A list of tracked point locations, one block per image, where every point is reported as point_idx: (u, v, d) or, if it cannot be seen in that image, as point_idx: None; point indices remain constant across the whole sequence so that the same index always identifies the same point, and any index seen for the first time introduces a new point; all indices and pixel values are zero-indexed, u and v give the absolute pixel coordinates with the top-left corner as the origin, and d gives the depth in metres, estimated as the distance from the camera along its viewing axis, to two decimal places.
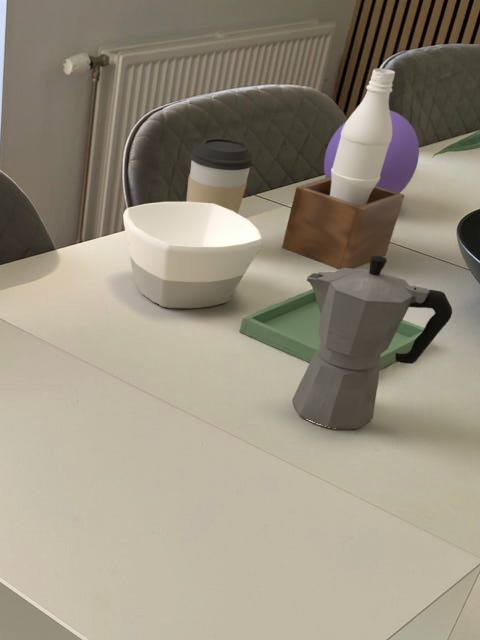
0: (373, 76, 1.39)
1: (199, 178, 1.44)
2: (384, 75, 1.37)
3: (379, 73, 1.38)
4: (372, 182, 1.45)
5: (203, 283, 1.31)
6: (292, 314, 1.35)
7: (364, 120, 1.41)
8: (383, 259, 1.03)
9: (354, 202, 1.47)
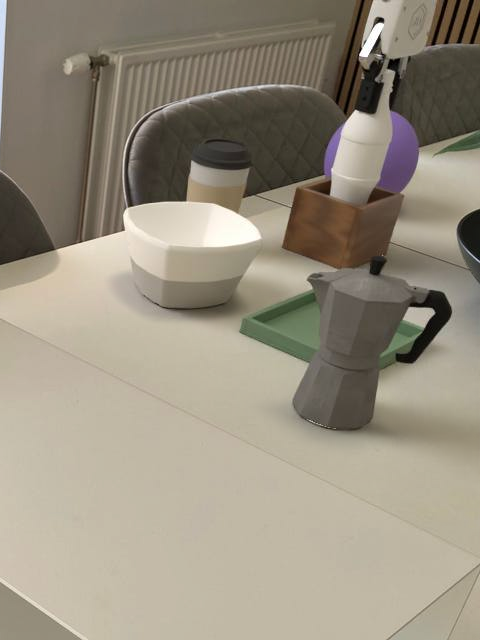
0: None
1: (199, 178, 1.44)
2: (384, 75, 1.37)
3: None
4: (372, 182, 1.45)
5: (203, 283, 1.31)
6: (292, 314, 1.35)
7: (364, 120, 1.41)
8: (383, 259, 1.03)
9: (354, 202, 1.47)
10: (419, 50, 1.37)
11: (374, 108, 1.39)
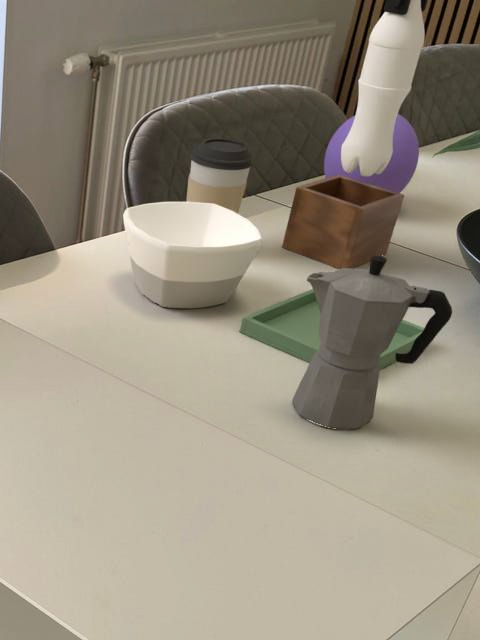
0: None
1: (199, 178, 1.44)
2: None
3: None
4: (403, 91, 1.36)
5: (203, 283, 1.31)
6: (292, 314, 1.35)
7: (394, 22, 1.31)
8: (383, 259, 1.03)
9: (383, 114, 1.38)
10: None
11: (405, 8, 1.30)
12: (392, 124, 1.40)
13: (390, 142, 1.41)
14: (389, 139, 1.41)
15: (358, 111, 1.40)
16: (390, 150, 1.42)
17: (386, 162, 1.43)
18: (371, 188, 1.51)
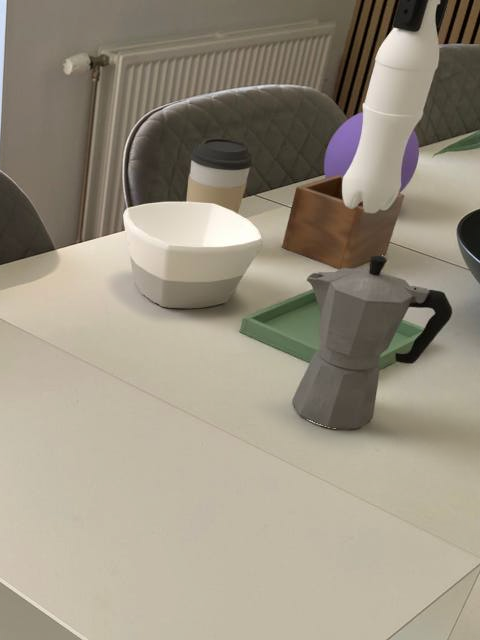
0: None
1: (199, 178, 1.44)
2: None
3: None
4: (413, 119, 1.19)
5: (203, 283, 1.31)
6: (292, 314, 1.35)
7: (405, 40, 1.14)
8: (383, 259, 1.03)
9: (391, 144, 1.21)
10: None
11: (418, 24, 1.12)
12: (401, 155, 1.23)
13: (398, 175, 1.24)
14: (397, 172, 1.24)
15: (362, 140, 1.22)
16: (398, 184, 1.25)
17: (393, 197, 1.25)
18: None
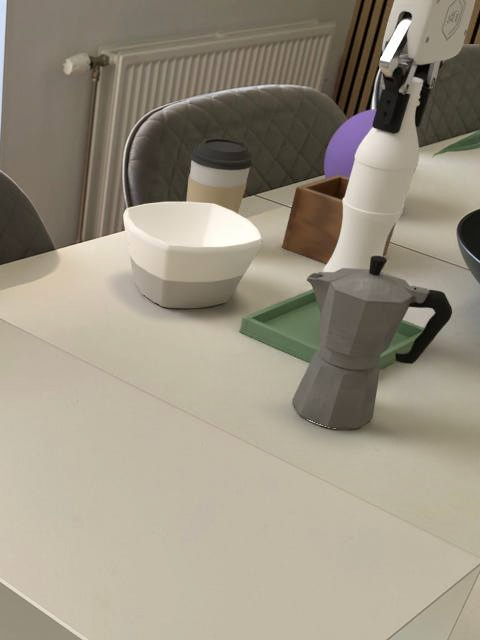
0: None
1: (199, 178, 1.44)
2: (410, 84, 1.09)
3: None
4: (394, 216, 1.17)
5: (203, 283, 1.31)
6: (292, 314, 1.35)
7: (384, 141, 1.13)
8: (383, 259, 1.03)
9: (371, 240, 1.19)
10: (454, 53, 1.09)
11: (397, 126, 1.11)
12: (381, 250, 1.21)
13: None
14: None
15: (342, 235, 1.21)
16: None
17: None
18: None
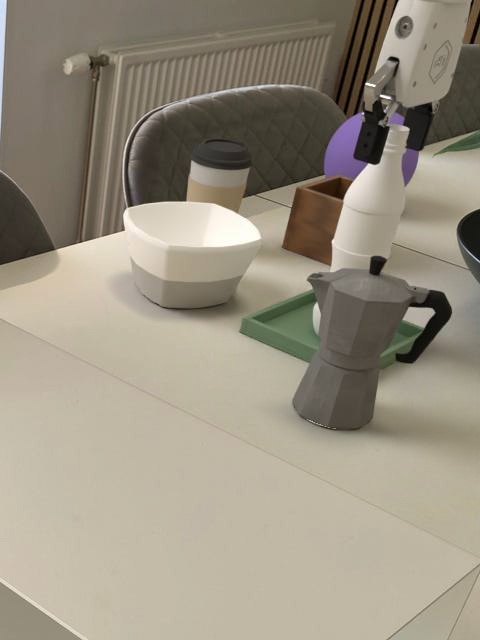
0: None
1: (199, 178, 1.44)
2: (396, 133, 1.13)
3: (390, 131, 1.13)
4: None
5: (203, 283, 1.31)
6: (292, 314, 1.35)
7: (372, 186, 1.16)
8: (383, 259, 1.03)
9: None
10: (442, 95, 1.11)
11: (378, 158, 1.12)
12: None
13: None
14: None
15: None
16: None
17: None
18: None
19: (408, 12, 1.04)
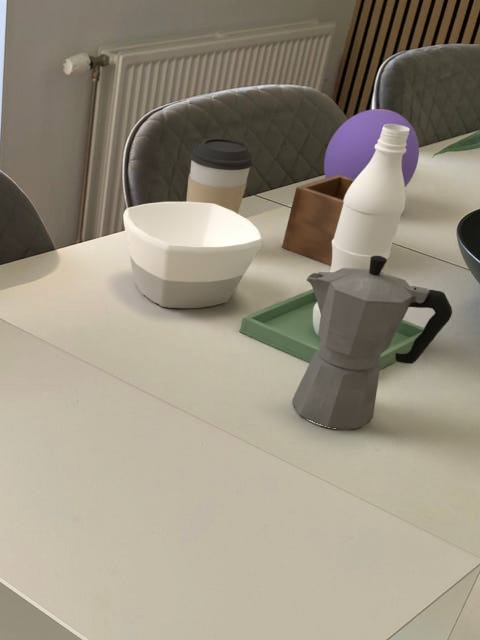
0: (383, 134, 1.14)
1: (199, 178, 1.44)
2: (396, 133, 1.13)
3: (390, 131, 1.13)
4: None
5: (203, 283, 1.31)
6: (292, 314, 1.35)
7: (372, 186, 1.16)
8: (383, 259, 1.03)
9: None
10: None
11: None
12: None
13: None
14: None
15: None
16: None
17: None
18: None
19: None
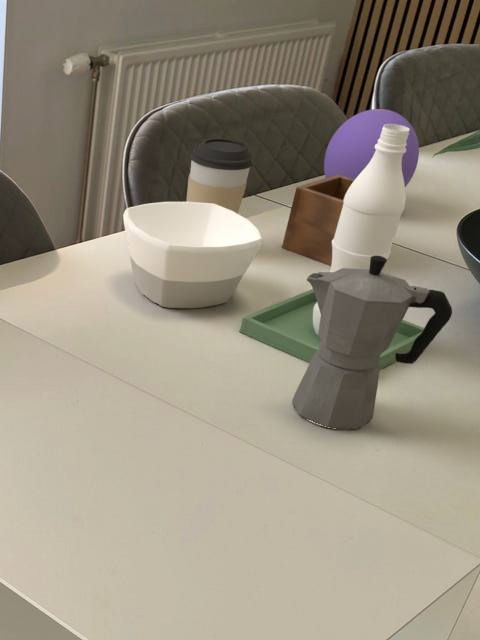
0: (383, 134, 1.14)
1: (199, 178, 1.44)
2: (396, 133, 1.13)
3: (390, 131, 1.13)
4: None
5: (203, 283, 1.31)
6: (292, 314, 1.35)
7: (372, 186, 1.16)
8: (383, 259, 1.03)
9: None
10: None
11: None
12: None
13: None
14: None
15: None
16: None
17: None
18: None
19: None
